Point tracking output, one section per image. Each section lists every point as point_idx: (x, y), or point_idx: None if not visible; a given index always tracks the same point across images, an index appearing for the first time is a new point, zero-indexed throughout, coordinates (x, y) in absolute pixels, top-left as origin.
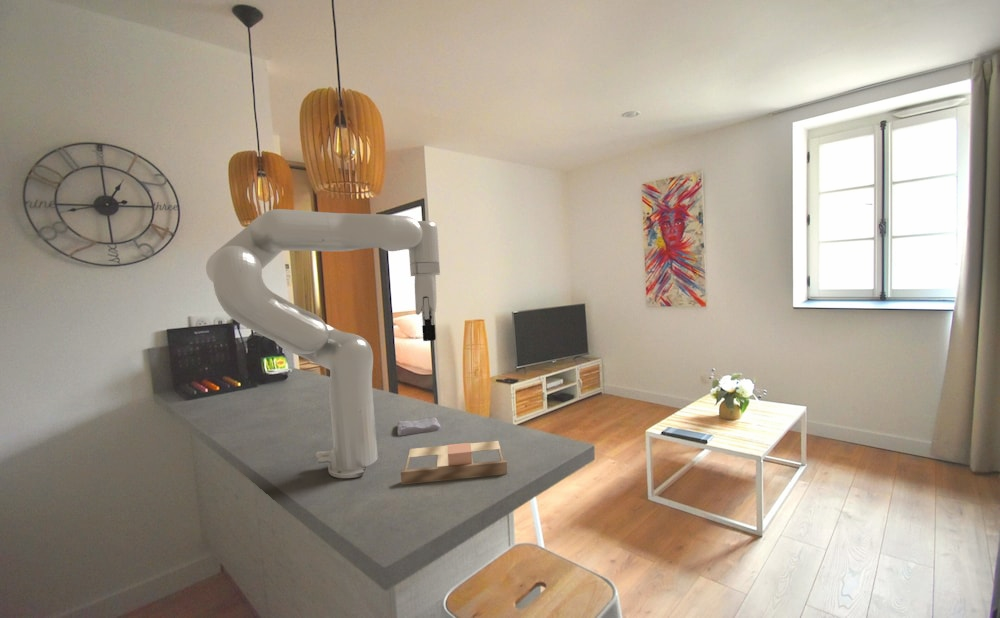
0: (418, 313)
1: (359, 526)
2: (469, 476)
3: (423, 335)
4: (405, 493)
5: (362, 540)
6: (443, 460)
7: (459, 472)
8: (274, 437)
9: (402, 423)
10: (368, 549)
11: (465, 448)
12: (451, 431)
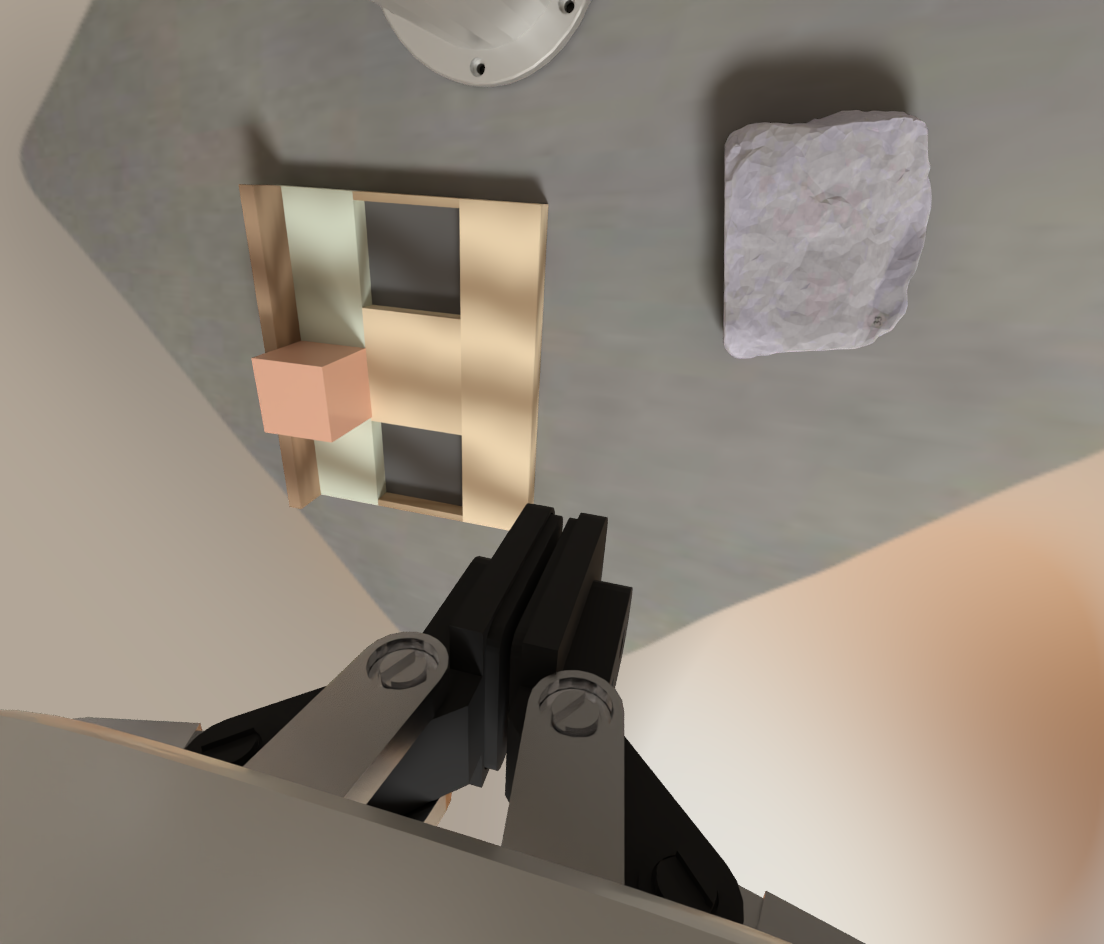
0: (444, 829)
1: (116, 67)
2: None
3: (509, 541)
4: None
5: (69, 90)
6: (410, 334)
7: None
8: None
9: (780, 152)
10: (45, 115)
11: (288, 419)
12: (749, 398)
